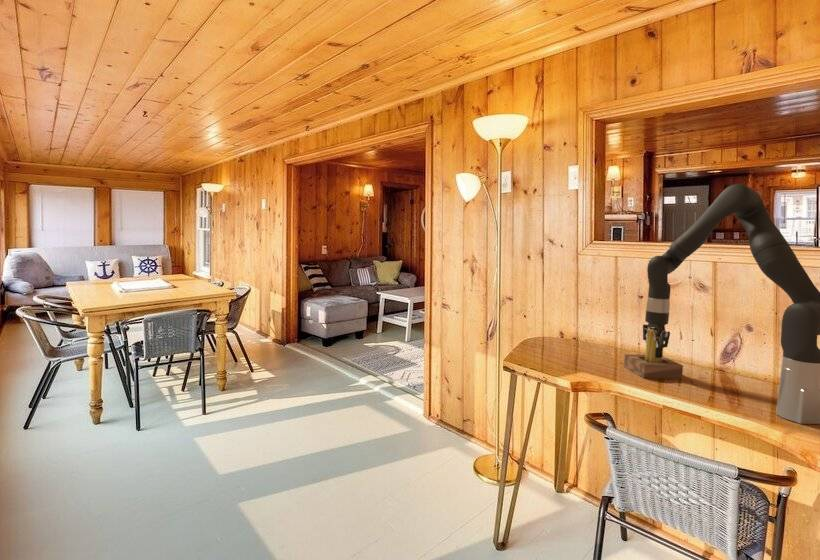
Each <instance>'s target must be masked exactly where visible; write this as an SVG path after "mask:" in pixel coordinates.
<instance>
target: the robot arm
mask: <svg viewBox="0 0 820 560" xmlns="http://www.w3.org/2000/svg"><path fill="white" fill-rule="evenodd" d="M730 215H733V216H734V217H735V218H736V219H737V220H738V221H739V222H740V224H741V225H742V227H743V228H744V229H745V232H746V235H747V238H748V245H749V249H750V252H751V254H752V257H753V258H754V260H755V262H756V264H757V265H758V268H759V269H760V271H761V272H762V274H764V275H765V277H767V278H769V280H771V282H773V283H774V284H775V285H776V286H777V287H779V288H780V289H781V290H783V291H784V292H785V293H786V294H787V296H788V297H789V298H790V300H791V301H792V304H790V305H788V306H787V307H786V309H785V310H784V312H783V315H782V318H781V330H780V332H781V333H780V346H781V348H782V359H781V368H780V375H779V384H778V392H777V399H776V409H775V414H776V415H777V416H778V415H779V416H778V417H780V418H782V419H785V420H788V421H792V422H796V424H797V423H798V424H799V425H800V424H803V425H804V424H805V425H806V424H807V425H811V424H813V425H815V424H816V425H818V424H819V425H820V348H819V347H818V336H820V291H819V289H818V288H817V287H816V285H815V284H814V283H813V281H812V279H811V277H809V274H808V273H807V271H806V270H805V269H804V267H803V265H802V264H801V262H800V260H799V259H798V257H797V255H796V254H795V252H794V250H793V249H792V247H791V246H790V244H789V242H788V241H787V240H786V238H785V237H784V235H783V234H782V232H781V231H780V230H779V228H778V227H777V226H776V224H775V223H774V222H773V220H772V219H771V217H770V215H769V212H768V210H767V208H766V206H765V203H764V201H763V199H762V197H761V195H760V193H758V191H756V190H755V189H753V188H752V187H749V186H748V185H745V184H742V183H734V184H731V185H729V186H727V187H726V188H725V189H723V191H721V193H720V194H719V195H718V196H717V197H716V198H715V199H714V201H712V203H711V204H710V205H709V206H708V207H707V208H706V209H705V210H704V212H703V213H702V215H700V217H699V218H698V219H697V220H696V221H695V222H694V223H693V224H692V225H691V226H690V227H688V229H687V230H685V231H684V232H683V233H682V234H681V235H679V236H678V237H677V238H676V239H675V240H674V241H673V242H672V243H671V244H670V245H669V249H667V251H665V252H664V253H663V254H662V255H655V256H653V257H651V258H650V260H649V261H648V264H647V267H646V268H647V270H646V271H647V281H648V294H647V300H646V310H645V316H644V317H645V318H644V319H645V323H647V324H642V340H643V341H645V343H646V344H647V335H648V328H649V329H650V330H653V333H654V341H655V343H656V350H655V357H656V358H662V356H663V353H662V352H663V350H664V349H665V348H668V346H669V345H668V344H669V340H670V336H671V332H670V331H666V328H665V326H666V325H668V324H669V320H670V319H669V317H670V309H671V302H670V301H671V300H670V298H671V284H670V283H669V282H668V281H669V279H668V275H669V274H672V273H673V272H674V271H675V270H676V269H678V268H679V266H680V265H681V264H682V263H684V261H685V260H686V259H687V258H688V257H690V256H691V255H693V254H694V253H695V252H696V251H697V250H699V249H700V248H701V247H702V245H704V244H705V242H706V241H707V240H708V238H709V237H710V236H711V234H712V232H713V230H715V228H716V227H717V226H718V225H719V224H720V223H721V221H724V219H726V218H727V217H729V216H730ZM654 330H656V331H657V333H655V331H654ZM656 335H657V336H656ZM657 337H661V338H660V339H657ZM658 341H660V342H658Z"/></svg>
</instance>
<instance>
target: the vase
mask: <svg viewBox="0 0 820 560" xmlns="http://www.w3.org/2000/svg"><path fill="white" fill-rule="evenodd" d="M654 331H655V333H657V331H656V330H654ZM656 336H657V335H656ZM660 338H661V337H657V339H660ZM658 342H660V341H658ZM655 350H656V343H655V341H654V333H653V330H650V329H649V328H648V335H647V343H646V345H645V354H644V355H645V361H646V362H648V363H662V358H656V357H655ZM662 354H663V352H662Z"/></svg>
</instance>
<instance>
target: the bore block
mask: <svg viewBox="0 0 820 560" xmlns="http://www.w3.org/2000/svg"><path fill="white" fill-rule="evenodd" d="M623 361H624V362H623V364H624V365H623V367H624V368H625V369H626V370H627V371H630V372H631V373H633V374H635V375H637V376H639V377H640V378H642V379H643V380H644V379H649V380H653V379H654V380H659V379H660V380H682V379H683V370H684V365H682V364H680V363H679V362H676V361H674V360H673V359H670V358H668V357H666V356H663V355H662V363H648V362H646V361H645V354H632V353H631V354H629V353H628V354H624V360H623Z"/></svg>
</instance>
